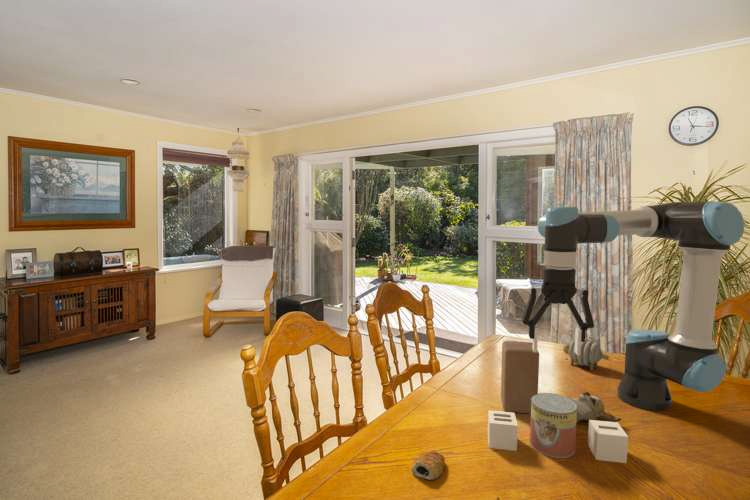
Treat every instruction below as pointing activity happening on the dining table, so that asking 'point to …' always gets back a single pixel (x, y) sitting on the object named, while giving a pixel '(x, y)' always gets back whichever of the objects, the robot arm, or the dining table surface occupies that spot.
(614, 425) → the marked cube 2
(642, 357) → the robot arm
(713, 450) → the dining table surface
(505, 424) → the marked cube 1
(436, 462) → the pastry
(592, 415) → the ceramic sculpture
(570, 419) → the canned food
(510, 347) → the block
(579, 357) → the grey armadillo figurine
